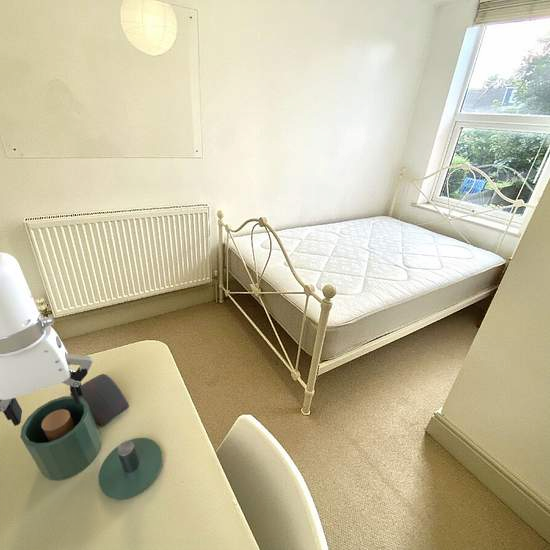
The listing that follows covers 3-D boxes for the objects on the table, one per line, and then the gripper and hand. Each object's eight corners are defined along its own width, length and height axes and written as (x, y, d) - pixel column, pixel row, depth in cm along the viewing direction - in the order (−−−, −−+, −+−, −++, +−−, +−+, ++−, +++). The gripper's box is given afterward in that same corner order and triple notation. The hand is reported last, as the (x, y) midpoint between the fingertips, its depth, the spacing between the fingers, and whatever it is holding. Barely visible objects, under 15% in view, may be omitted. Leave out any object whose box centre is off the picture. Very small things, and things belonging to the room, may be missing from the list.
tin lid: (102, 514, 53) (92, 494, 49) (97, 457, 61) (89, 436, 58) (168, 481, 58) (163, 460, 55) (156, 432, 66) (151, 411, 63)
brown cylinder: (57, 466, 59) (40, 434, 54) (58, 447, 62) (42, 415, 57) (84, 455, 61) (69, 423, 56) (83, 437, 64) (69, 405, 59)
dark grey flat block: (101, 377, 79) (98, 365, 77) (133, 404, 72) (129, 393, 70) (68, 398, 73) (63, 386, 71) (98, 430, 66) (94, 418, 64)
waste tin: (38, 491, 55) (17, 457, 50) (42, 442, 63) (24, 409, 58) (103, 463, 60) (89, 429, 55) (99, 421, 68) (86, 388, 63)
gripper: (78, 304, 53) (102, 376, 62) (-57, 335, 45) (-9, 411, 54) (80, 329, 48) (105, 404, 56) (-75, 369, 40) (-18, 448, 48)
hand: (49, 407), depth 55 cm, fingers open, 8 cm apart
